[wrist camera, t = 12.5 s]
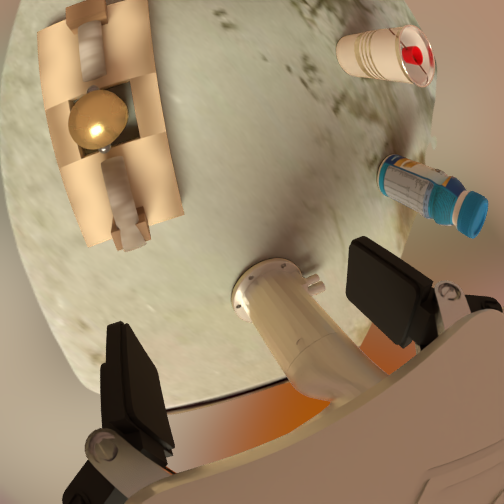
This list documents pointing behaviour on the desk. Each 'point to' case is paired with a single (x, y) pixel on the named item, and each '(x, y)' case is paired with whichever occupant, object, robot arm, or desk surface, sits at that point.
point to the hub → (97, 119)
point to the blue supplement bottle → (432, 194)
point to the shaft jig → (120, 155)
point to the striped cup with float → (388, 55)
